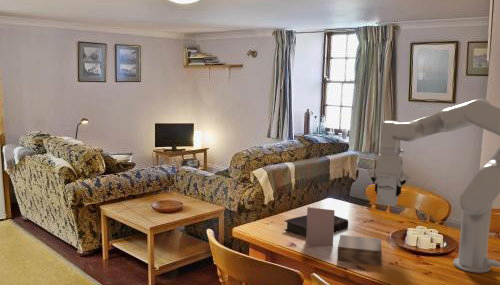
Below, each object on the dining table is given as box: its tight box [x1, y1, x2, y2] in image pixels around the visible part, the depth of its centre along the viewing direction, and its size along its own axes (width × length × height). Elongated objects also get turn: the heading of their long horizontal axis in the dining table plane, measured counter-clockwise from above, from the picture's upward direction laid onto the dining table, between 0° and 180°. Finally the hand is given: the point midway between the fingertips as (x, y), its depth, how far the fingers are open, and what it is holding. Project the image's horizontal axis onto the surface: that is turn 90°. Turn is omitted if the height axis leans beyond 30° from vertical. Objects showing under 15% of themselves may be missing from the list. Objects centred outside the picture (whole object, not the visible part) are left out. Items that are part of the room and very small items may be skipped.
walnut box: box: [337, 234, 383, 267], centre depth 187 cm, size 16×14×6 cm
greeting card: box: [305, 207, 335, 248], centre depth 197 cm, size 11×7×15 cm, turn 70°
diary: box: [284, 214, 349, 237], centre depth 219 cm, size 19×25×5 cm
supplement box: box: [376, 174, 399, 208], centre depth 194 cm, size 7×7×13 cm
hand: (387, 194), depth 194 cm, fingers closed on supplement box, 7 cm apart
